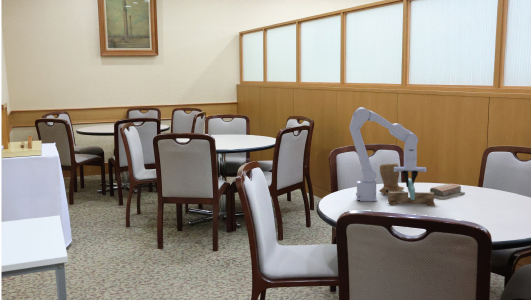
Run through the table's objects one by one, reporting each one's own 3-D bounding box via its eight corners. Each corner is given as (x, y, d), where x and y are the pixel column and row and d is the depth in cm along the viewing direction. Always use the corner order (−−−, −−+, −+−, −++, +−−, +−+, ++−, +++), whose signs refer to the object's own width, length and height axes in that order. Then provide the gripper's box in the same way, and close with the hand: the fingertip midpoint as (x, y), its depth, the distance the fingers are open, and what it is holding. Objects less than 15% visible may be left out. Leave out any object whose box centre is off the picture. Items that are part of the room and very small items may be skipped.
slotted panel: (414, 199, 209) (414, 189, 207) (411, 199, 209) (411, 189, 208) (410, 188, 224) (411, 178, 223) (407, 188, 224) (407, 178, 223)
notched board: (388, 204, 215) (389, 194, 214) (387, 200, 223) (388, 190, 222) (434, 205, 211) (435, 195, 210) (432, 201, 219) (432, 190, 218)
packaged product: (447, 181, 239) (465, 185, 231) (447, 191, 240) (464, 194, 232) (424, 186, 229) (442, 190, 221) (424, 196, 230) (441, 200, 222)
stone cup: (384, 188, 247) (384, 160, 245) (406, 190, 240) (407, 162, 238) (373, 194, 235) (373, 164, 233) (396, 197, 228) (396, 166, 226)
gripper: (425, 156, 222) (424, 185, 224) (393, 156, 225) (393, 184, 227) (427, 159, 215) (426, 188, 217) (394, 159, 218) (394, 187, 220)
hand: (409, 186), depth 222 cm, fingers closed on slotted panel, 1 cm apart
